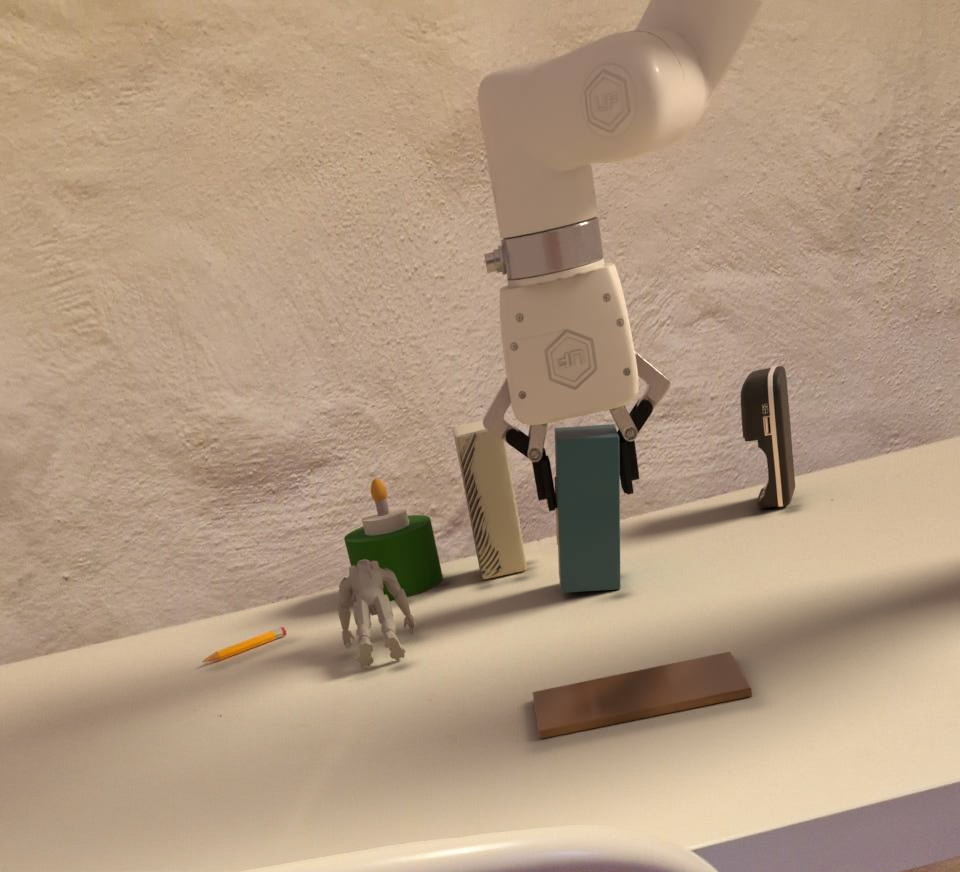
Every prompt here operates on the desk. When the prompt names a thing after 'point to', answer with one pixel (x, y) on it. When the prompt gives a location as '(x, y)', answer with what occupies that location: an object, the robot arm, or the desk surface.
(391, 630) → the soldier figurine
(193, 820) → the desk surface
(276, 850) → the desk surface
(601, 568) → the tissue box
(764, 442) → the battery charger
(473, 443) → the box
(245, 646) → the pencil
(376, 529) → the candle
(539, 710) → the brown wooden plank
